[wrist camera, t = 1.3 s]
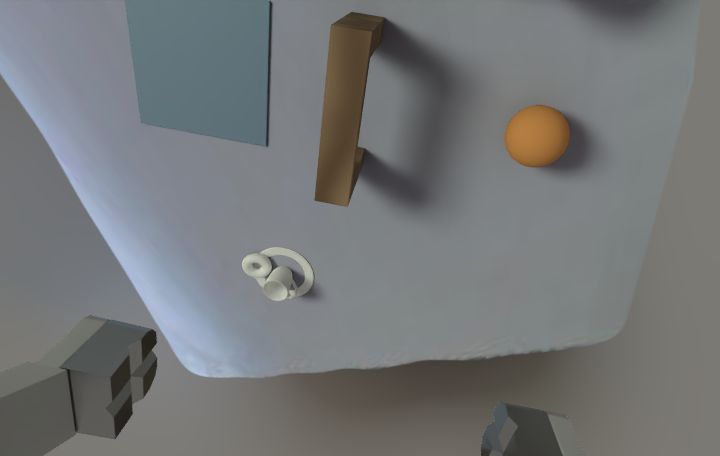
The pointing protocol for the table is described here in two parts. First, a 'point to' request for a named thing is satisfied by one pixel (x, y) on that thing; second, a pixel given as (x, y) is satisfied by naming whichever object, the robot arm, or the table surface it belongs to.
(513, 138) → the ball
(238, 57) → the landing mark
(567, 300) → the table surface
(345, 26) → the bridge
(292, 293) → the mug and donut ornament
